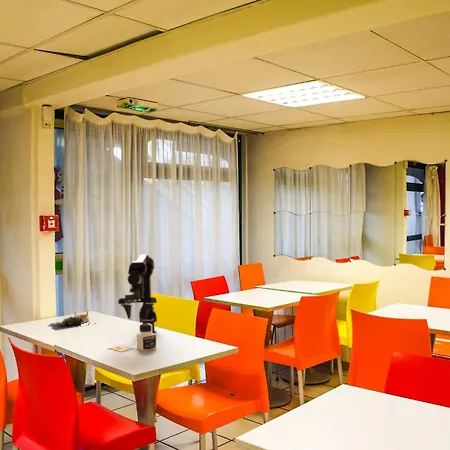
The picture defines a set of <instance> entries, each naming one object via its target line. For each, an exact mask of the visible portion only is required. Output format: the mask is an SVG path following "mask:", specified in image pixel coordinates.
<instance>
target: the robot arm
mask: <svg viewBox="0 0 450 450" xmlns="http://www.w3.org/2000/svg"><path fill="white" fill-rule="evenodd" d="M154 269H155V262H154V259H153V258H152V257H150V255H149V254H148V253H147V254H142V253H141V254H139V255H138V258H137V259H136V260H133V261H131V262H130V264H129V268H128V273H127V274H128V277H127V282H128V284H130V285H131V288H130V289H129V292H127V293H125V294H124V297H122V298H119V299H118V301H117V304H118V305H120V306H121V307H123V309H124V312H125V313H126V317H127V319H128V320H130V319H131V314H132V313H131V312H132V304H131V303H133V304H134V303H135V304H137V303H142V304H141V307H140V310H139V312H138V313H139V314H138V315H139V316H138V317H139V323H141V324H145V323H149V324H152V333H154V334H156V333H157V330H155V323H156V322H158V316H157V313H156V311H155V307H154V305H155V304H157V300H158V299H157V297H153V296H152V289H151V288H152V286H151V285H152V283H151V281H152V280H151V277H152V275H153V273H154Z"/></svg>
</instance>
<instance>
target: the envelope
mask: <svg viewBox="0 0 450 450" xmlns="http://www.w3.org/2000/svg"><path fill="white" fill-rule="evenodd" d="M107 348H108V349H109V350H113V351H115V352H120V353H123V352H127V351H130V350H134V349H136V348H135V347H132V346H129V345H124V344H118V345H114V346H110V347H107Z"/></svg>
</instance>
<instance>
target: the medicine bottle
mask: <svg viewBox="0 0 450 450" xmlns="http://www.w3.org/2000/svg"><path fill="white" fill-rule="evenodd" d="M136 349H138V350H140V351H143V352H145V351H146V352H147V351H150V350H151V351H152V350H155V349H157V334H156V333H152V324H149V323H145V324H142V323H141V324H139V333H136Z"/></svg>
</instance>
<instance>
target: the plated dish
mask: <svg viewBox="0 0 450 450" xmlns="http://www.w3.org/2000/svg"><path fill="white" fill-rule="evenodd" d="M89 321H90V319H89V310H88V309H87V312H86V314H85V313H82V314H77V312H74V316H69V317H67V318H63V320H61V322H60V321H56V322H52V323H49V324H47V327H51V329H52V330H53V331H61V330H62V331H63V330H66V329H72V328H73V329H74V328H79V326H80V327H82V326H81V324H84V323H87V322H89ZM94 323H95V324H94V325H97V324H96V323H97V322H94ZM89 324H90V323H89ZM89 324H88V325H87V326H90V325H89Z"/></svg>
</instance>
